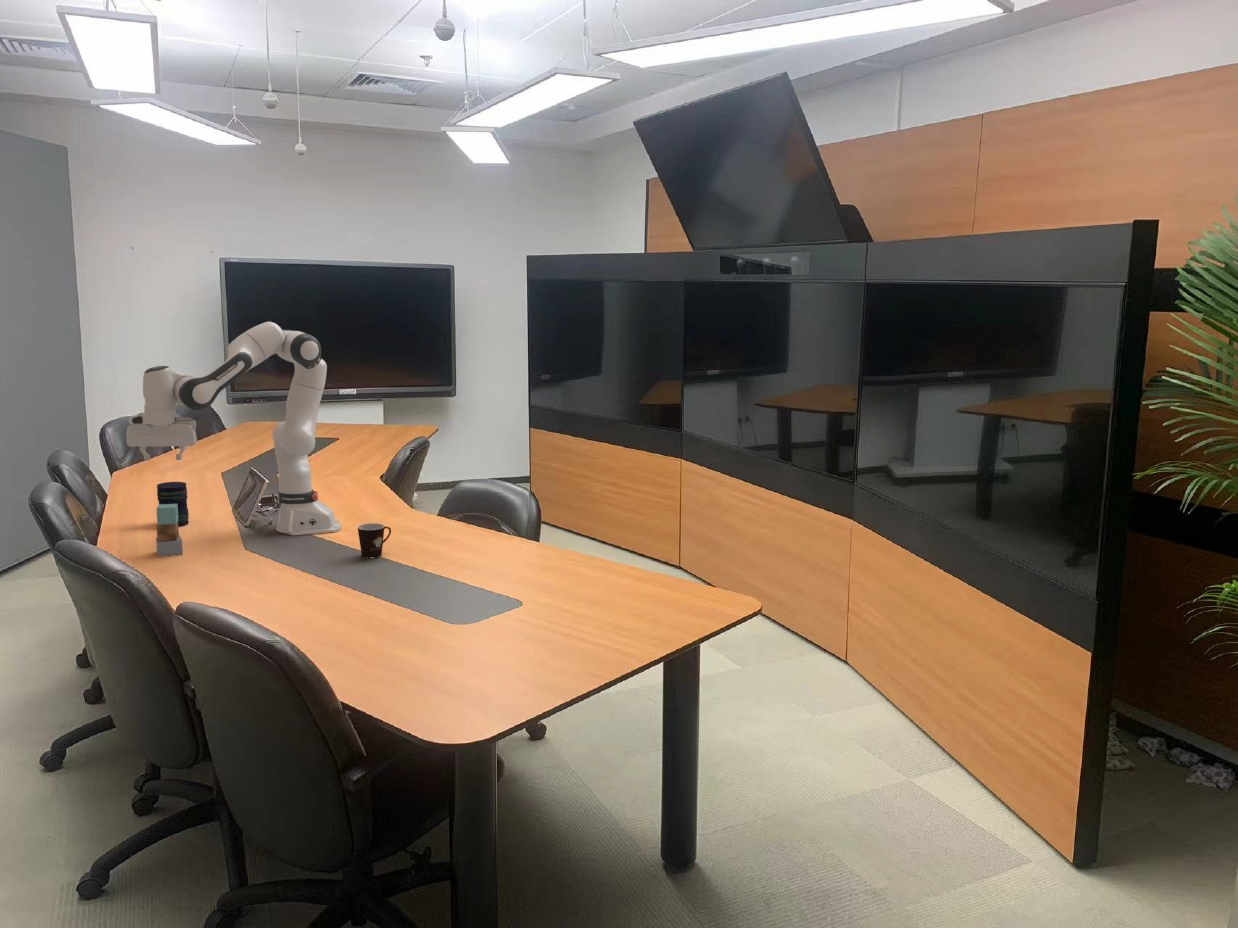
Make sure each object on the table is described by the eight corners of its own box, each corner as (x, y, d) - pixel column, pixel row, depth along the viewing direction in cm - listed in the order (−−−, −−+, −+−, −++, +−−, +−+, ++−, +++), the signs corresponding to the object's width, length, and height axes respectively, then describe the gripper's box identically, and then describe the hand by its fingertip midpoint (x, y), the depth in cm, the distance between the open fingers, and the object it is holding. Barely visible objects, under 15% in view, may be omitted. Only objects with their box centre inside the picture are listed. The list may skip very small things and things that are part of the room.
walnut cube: (178, 536, 298) (177, 520, 297) (176, 540, 293) (175, 524, 292) (160, 537, 297) (159, 520, 296) (157, 541, 292) (156, 525, 290)
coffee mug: (361, 560, 293) (360, 531, 292) (355, 553, 301) (355, 524, 299) (397, 556, 299) (396, 527, 297) (390, 549, 306) (390, 521, 304)
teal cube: (178, 519, 298) (177, 503, 297) (176, 523, 293) (175, 507, 292) (159, 520, 296) (158, 504, 295) (157, 524, 291) (156, 508, 290)
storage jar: (153, 525, 327) (150, 485, 324) (174, 519, 336) (171, 480, 333) (174, 529, 324) (171, 488, 321) (195, 522, 333) (192, 483, 330)
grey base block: (180, 549, 301) (179, 534, 300) (182, 554, 295) (181, 540, 294) (156, 552, 297) (155, 537, 296) (158, 557, 291) (157, 542, 290)
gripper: (197, 415, 293) (200, 457, 296) (128, 416, 288) (132, 458, 291) (193, 418, 287) (196, 461, 290) (122, 418, 282) (126, 462, 285)
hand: (163, 459), depth 290 cm, fingers open, 8 cm apart
